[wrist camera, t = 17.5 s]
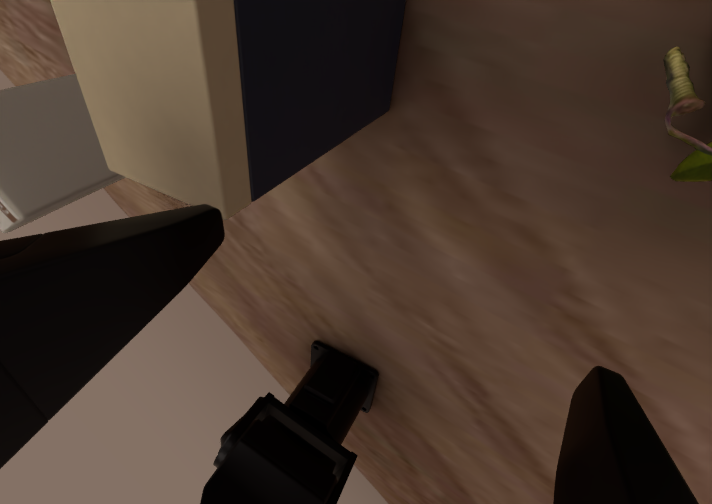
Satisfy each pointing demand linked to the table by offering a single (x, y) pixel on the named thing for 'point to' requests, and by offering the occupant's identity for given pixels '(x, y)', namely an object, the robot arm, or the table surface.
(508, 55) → the table surface
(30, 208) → the cosmetic box
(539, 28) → the table surface
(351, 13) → the carton
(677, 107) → the leafy green plant
